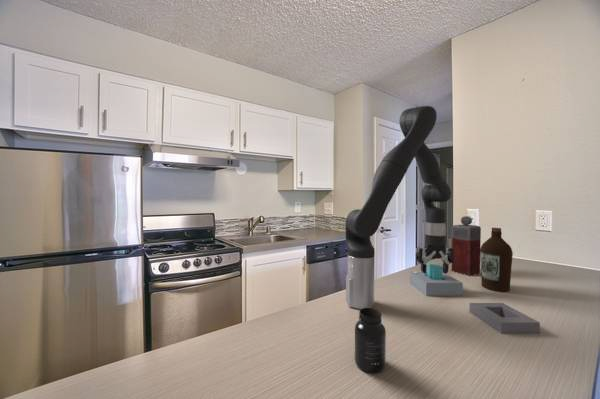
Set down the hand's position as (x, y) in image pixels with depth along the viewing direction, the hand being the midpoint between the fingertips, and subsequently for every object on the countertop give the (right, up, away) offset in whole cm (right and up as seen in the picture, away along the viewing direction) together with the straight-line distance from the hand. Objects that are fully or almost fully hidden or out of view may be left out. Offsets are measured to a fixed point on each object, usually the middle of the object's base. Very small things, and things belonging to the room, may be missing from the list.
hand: (434, 273), depth 105 cm
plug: (0, -7, 0) cm, 7 cm away
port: (0, -7, 0) cm, 7 cm away
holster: (+6, -7, -27) cm, 28 cm away
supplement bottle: (-39, -8, -47) cm, 61 cm away
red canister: (+29, -6, +24) cm, 38 cm away
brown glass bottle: (+26, -7, +2) cm, 27 cm away
